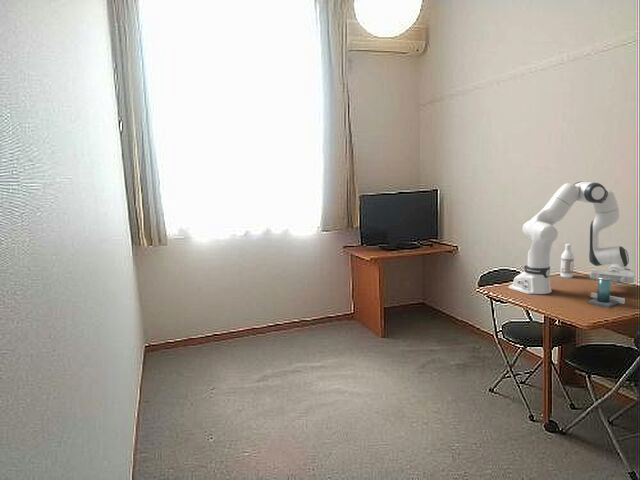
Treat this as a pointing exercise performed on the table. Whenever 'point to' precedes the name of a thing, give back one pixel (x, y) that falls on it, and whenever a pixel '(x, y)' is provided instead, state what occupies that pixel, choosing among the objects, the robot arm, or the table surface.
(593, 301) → the coaster
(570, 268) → the bath foam
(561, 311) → the table surface
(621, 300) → the wall
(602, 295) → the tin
